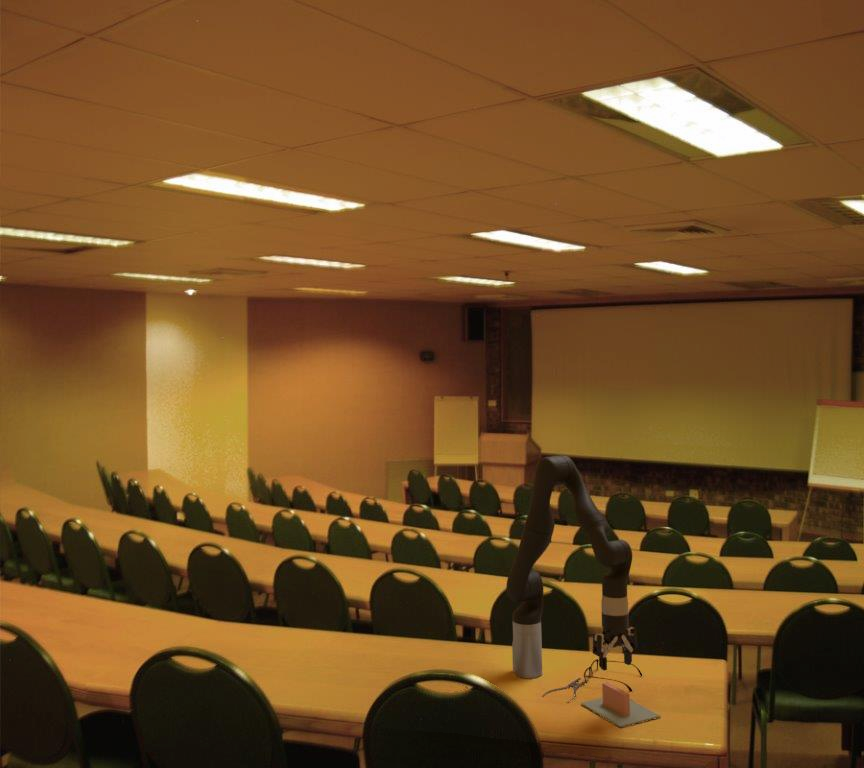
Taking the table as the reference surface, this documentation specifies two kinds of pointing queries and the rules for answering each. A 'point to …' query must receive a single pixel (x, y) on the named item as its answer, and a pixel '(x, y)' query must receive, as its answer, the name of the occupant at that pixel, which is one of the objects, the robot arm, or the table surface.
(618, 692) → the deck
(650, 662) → the table surface
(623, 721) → the mat
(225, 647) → the table surface
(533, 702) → the table surface
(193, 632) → the table surface
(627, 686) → the eyeglasses
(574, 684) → the pliers
